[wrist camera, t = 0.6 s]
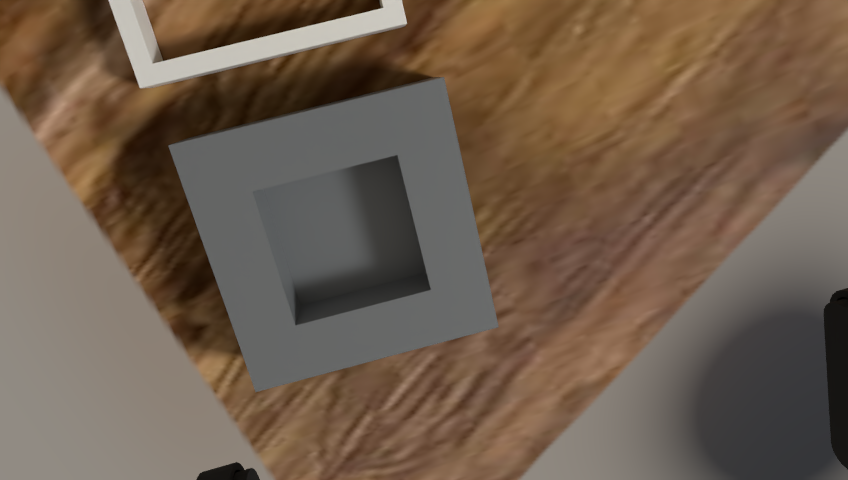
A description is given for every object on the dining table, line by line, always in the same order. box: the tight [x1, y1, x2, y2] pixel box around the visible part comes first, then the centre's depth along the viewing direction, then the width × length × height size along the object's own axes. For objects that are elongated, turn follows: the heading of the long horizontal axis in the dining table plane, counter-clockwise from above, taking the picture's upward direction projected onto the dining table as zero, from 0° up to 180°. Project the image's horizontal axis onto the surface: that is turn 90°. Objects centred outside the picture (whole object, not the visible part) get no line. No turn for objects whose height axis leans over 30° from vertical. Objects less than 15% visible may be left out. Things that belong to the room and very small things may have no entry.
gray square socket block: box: [168, 77, 498, 392], centre depth 34 cm, size 14×14×4 cm
